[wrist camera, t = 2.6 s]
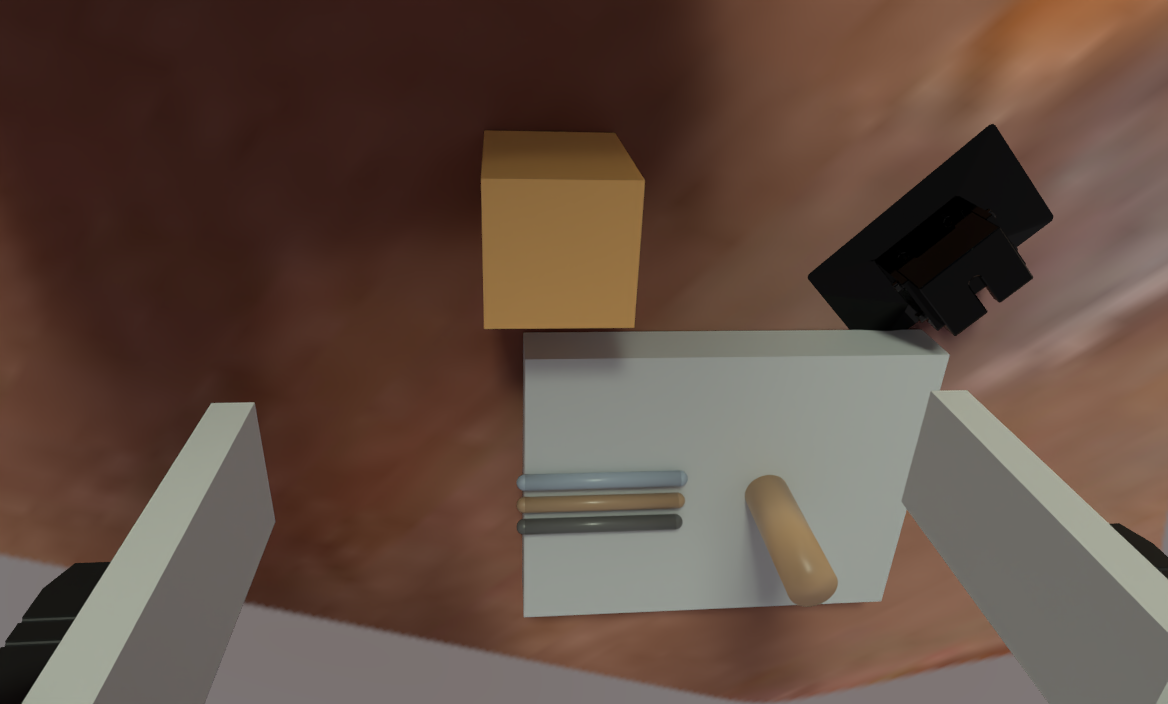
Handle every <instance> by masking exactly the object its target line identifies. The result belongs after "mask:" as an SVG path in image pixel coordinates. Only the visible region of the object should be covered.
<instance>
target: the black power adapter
mask: <svg viewBox="0 0 1168 704" xmlns="http://www.w3.org/2000/svg"><path fill="white" fill-rule="evenodd" d="M1052 219H1053V214H1052V213H1051V211H1050V210H1049V208H1048V207H1047V205H1046V204H1045V202H1044V200H1043V199H1042V197H1041V196H1040V194H1039V193H1038V191H1037V190H1036V188H1035V186H1034V185H1033V183H1032V182H1031V180H1030V179H1029V177H1028V176H1027V174H1026V172H1025V171H1024V169H1023V168H1022V166H1021V165H1020V163H1019V162H1018V160H1017V158H1016V157H1015V155H1014V154H1013V152H1012V151H1011V149H1010V148H1009V146H1008V144H1007V143H1006V141H1005V140H1004V138H1003V137H1002V135H1001V134H1000V132H999V130H998V129H997V127H996V126H995V125H994V124H991V125H989V126H987V127H986V128H985V129H984V130H983V131H981V132H980V133H979V134H978V135H977V136H975V137H974V138H973V139H972V140H971V141H969V142H968V143H967V144H966V145H965V146H963V147H962V148H961V149H960V150H958V151H957V152H956V153H955V154H954V155H952V156H951V157H950V158H949V159H948V160H946V161H945V162H944V163H943V164H942V165H940V166H939V167H938V168H937V169H936V170H934V171H933V172H932V173H931V174H929V175H928V176H927V177H926V178H925V179H923V180H922V181H921V182H920V183H919V184H917V185H916V186H915V187H914V188H913V189H911V190H910V191H909V192H908V193H907V194H905V195H904V196H903V197H902V198H900V199H899V200H898V201H897V202H896V203H894V204H893V205H892V206H891V207H890V208H888V209H887V210H886V211H885V212H884V213H882V214H881V215H880V216H879V217H878V218H876V219H875V220H874V221H873V222H871V223H870V224H869V225H868V226H867V227H865V228H864V229H863V230H862V231H861V232H859V233H858V234H857V235H856V236H855V237H853V238H852V239H851V240H850V241H848V242H847V243H846V244H845V245H844V246H842V247H841V248H840V249H839V250H838V251H836V252H835V253H834V254H833V255H832V256H830V257H829V258H828V259H827V260H826V261H824V262H823V263H822V264H821V265H819V266H818V267H817V268H816V269H815V270H813V271H812V272H811V273H810V274H809V275H808V279H809V281H810V282H811V283H812V284H813V285H814V287H815V288H816V289H817V290H818V292H819V293H820V294H821V295H822V296H823V298H824V299H825V300H826V301H827V303H828V304H829V305H830V306H831V307H832V309H833V310H834V311H835V312H836V314H837V315H838V316H839V317H840V318H841V320H842V321H843V322H844V323H845V325H846V326H847V327H848V328H849V329H850V330H874V331H895V330H907V329H908V328H910V327H911V326H912V325H914V324H915V323H916V322H918V321H920V322H921V323H923V322H924V321H925V320H926V321H927V322H928V323H929V324H931V325H932V326H933V327H934V328H935V329H936V330H937V331H938V330H939V329H941V328H942V327H945V328H946V329H947V330H948V331H949V332H950V333H952V334H953V335H954V336H957V335H958V334H959V333H961V332H962V331H963V330H965V329H966V328H967V327H969V326H970V325H971V324H973V323H974V322H975V321H977V320H978V319H979V318H981V317H982V316H983V315H985V314H986V313H987V310H986V309H985V307H984V306H983V304H982V303H981V302H980V300H979V299H978V298H977V296H976V295H975V294H976V293H978V292H979V291H980V290H982V289H983V288H984V287H986V288H987V290H988V291H989V292H990V294H991V295H992V297H993V298H994V299H995V300H997V301H998V302H1002V301H1004V300H1005V299H1006V298H1008V297H1009V296H1010V295H1012V294H1013V293H1014V292H1016V291H1017V290H1018V289H1020V288H1021V287H1022V286H1024V285H1025V284H1026V283H1028V282H1029V281H1030V280H1032V279H1033V276H1032V274H1031V273H1030V271H1029V270H1028V268H1027V267H1026V263H1025V262H1024V260H1023V259H1022V257H1021V256H1020V254H1019V253H1018V248H1017V247H1018V246H1019V245H1020V244H1022V243H1023V242H1024V241H1026V240H1027V239H1028V238H1030V237H1031V236H1032V235H1034V234H1035V233H1036V232H1037V231H1039V230H1040V229H1041V228H1043V227H1044V226H1045V225H1047V224H1048V223H1049V222H1051V221H1052Z"/></svg>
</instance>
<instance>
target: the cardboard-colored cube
mask: <svg viewBox="0 0 1168 704" xmlns="http://www.w3.org/2000/svg"><path fill="white" fill-rule="evenodd" d="M644 189H645V180H644V178H643V176H642V175H641V173H640V172H639V170H638V169H637V167H636V165H635V164H634V162H633V161H632V159H631V157H630V156H629V154H628V153H627V151H626V149H625V148H624V146H623V145H622V143H621V141H620V140H619V138H618V137H617V135H616V134H615V133H598V132H544V131H491V130H484V142H483V156H482V171H481V205H482V252H483V300H484V329H548V328H634V324H635V311H636V297H637V283H638V270H639V256H640V243H641V229H642V216H643V202H644Z"/></svg>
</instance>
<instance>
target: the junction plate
mask: <svg viewBox="0 0 1168 704" xmlns="http://www.w3.org/2000/svg"><path fill="white" fill-rule="evenodd" d="M948 359H949V354H948V353H947V352H946V351H945V350H944V349H943V348H942V347H941V346H939V345H938V344H937V343H936V342H935V341H934V340H933V339H932V338H931V337H930V336H928V335H927V334H926V333H925V332H924V331H923V330H922V329H915V330H895V331H874V330H786V331H656V332H527V333H523V475H521V476H519V477H518V479H517V486H518V488H519V489H520V490H522V491H523V497H522V498H520V499H519V500H518V501H517V509H518V510H519V511H520V512H521V513H523V519H521V520H520V521H519V522H518V523H517V530H518V532H519V533H520V534H523V536H522V584H523V610H524V617H541V616H563V615H585V614H607V613H630V612H652V611H674V610H696V609H719V608H741V607H763V606H785V605H799V606H805V607H809V606H815V605H819V604H830V603H852V602H874V601H881V600H882V596H883V593H884V589H885V585H886V582H887V578H888V575H889V571H890V567H891V564H892V560H893V557H894V553H895V549H896V546H897V542H898V539H899V535H900V531H901V528H902V524H903V521H904V517H905V513H906V510H907V509H906V507H905V506H904V505H903V503H902V502H901V500H902V497H903V493H904V489H905V485H906V482H907V478H908V474H909V470H910V467H911V463H912V459H913V456H914V452H915V448H916V444H917V441H918V437H919V433H920V429H921V426H922V422H923V418H924V415H925V411H926V407H927V403H928V400H929V396H930V392H931V391H940V388H941V384H942V380H943V377H944V373H945V370H946V366H947V362H948Z"/></svg>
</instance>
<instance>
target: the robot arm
mask: <svg viewBox="0 0 1168 704" xmlns="http://www.w3.org/2000/svg"><path fill="white" fill-rule="evenodd" d="M901 502H902V503H903V505H904V506H905V507H906V509H907V510H908V511H909V513H910V514H911V516H912V517H913V518H914V520H915V521H916V522H917V524H918V525H919V526H920V528H921V529H922V531H923V532H924V533H925V535H926V536H927V537H928V539H929V540H930V542H931V543H932V544H933V546H934V547H935V548H936V550H937V551H938V552H939V554H940V555H941V557H942V558H943V559H944V561H945V562H946V563H947V565H948V566H949V568H950V569H951V570H952V572H953V573H954V574H955V576H956V577H957V579H958V580H959V581H960V583H961V584H962V585H963V587H964V588H965V589H966V591H967V592H968V594H969V595H970V596H971V598H972V599H973V600H974V602H975V603H976V605H977V606H978V607H979V609H980V610H981V611H982V613H983V614H984V615H985V617H986V618H987V620H988V621H989V622H990V624H991V625H992V626H993V628H994V629H995V631H996V632H997V633H998V635H999V636H1000V637H1001V639H1002V640H1003V641H1004V643H1005V644H1006V646H1007V647H1008V648H1009V650H1010V651H1011V652H1012V654H1013V655H1014V657H1015V658H1016V659H1017V661H1018V662H1019V663H1020V665H1021V666H1022V667H1023V669H1024V670H1025V672H1026V673H1027V674H1028V676H1029V677H1030V678H1031V680H1032V681H1033V682H1034V684H1035V685H1036V687H1037V688H1038V689H1039V691H1040V692H1041V693H1042V695H1043V696H1044V698H1045V699H1046V700H1047V702H1048V703H1049V704H1168V557H1167V556H1166V555H1165V554H1164V553H1163V552H1162V551H1161V550H1160V549H1158V548H1157V547H1156V546H1155V545H1154V544H1153V543H1151V542H1150V541H1148V540H1146V539H1145V538H1143V537H1141V536H1140V535H1138V534H1136V533H1135V532H1133V531H1131V530H1129V529H1128V528H1126V527H1124V526H1123V525H1121V524H1119V523H1118V524H1109V523H1107V522H1106V521H1105V520H1104V519H1103V518H1102V517H1101V516H1100V515H1099V514H1098V513H1097V512H1096V511H1095V510H1094V509H1093V508H1092V507H1090V506H1089V505H1088V504H1087V503H1086V502H1085V501H1084V500H1083V499H1082V498H1081V497H1080V496H1079V495H1078V494H1077V493H1076V492H1074V491H1073V490H1072V489H1071V488H1070V487H1069V486H1068V485H1067V484H1066V483H1065V482H1064V481H1063V480H1062V479H1061V478H1060V477H1059V476H1057V475H1056V474H1055V473H1054V472H1053V471H1052V470H1051V469H1050V468H1049V467H1048V466H1047V465H1046V464H1045V463H1044V462H1043V461H1042V460H1040V459H1039V458H1038V457H1037V456H1036V455H1035V454H1034V453H1033V452H1032V451H1031V450H1030V449H1029V448H1028V447H1027V446H1026V445H1025V444H1023V443H1022V442H1021V441H1020V440H1019V439H1018V438H1017V437H1016V436H1015V435H1014V434H1013V433H1012V432H1011V431H1010V430H1009V429H1008V428H1006V427H1005V426H1004V425H1003V424H1002V423H1001V422H1000V421H999V420H998V419H997V418H996V417H995V416H994V415H993V414H992V413H990V412H989V411H988V410H987V409H986V408H985V407H984V406H983V405H982V404H981V403H980V402H979V401H978V400H977V399H976V398H975V397H973V396H972V395H971V394H970V393H969V392H968V391H967V390H951V391H931V392H930V396H929V400H928V403H927V407H926V411H925V415H924V418H923V422H922V426H921V429H920V433H919V437H918V441H917V444H916V448H915V452H914V456H913V459H912V463H911V467H910V470H909V474H908V478H907V482H906V485H905V489H904V493H903V497H902V500H901ZM274 524H275V516H274V511H273V505H272V499H271V494H270V488H269V482H268V476H267V471H266V465H265V459H264V453H263V448H262V442H261V436H260V431H259V425H258V419H257V413H256V408H255V402H246V403H211V404H210V406H209V407H208V409H207V411H206V412H205V414H204V415H203V417H202V419H201V420H200V422H199V423H198V425H197V426H196V428H195V430H194V431H193V433H192V434H191V436H190V438H189V439H188V441H187V442H186V444H185V445H184V447H183V449H182V450H181V452H180V453H179V455H178V457H177V458H176V460H175V461H174V463H173V464H172V466H171V468H170V469H169V471H168V472H167V474H166V476H165V477H164V479H163V480H162V482H161V484H160V485H159V487H158V488H157V490H156V491H155V493H154V495H153V496H152V498H151V499H150V501H149V503H148V504H147V506H146V507H145V509H144V510H143V512H142V514H141V515H140V517H139V518H138V520H137V522H136V523H135V525H134V526H133V528H132V529H131V531H130V533H129V534H128V536H127V537H126V539H125V541H124V542H123V544H122V545H121V547H120V548H119V550H118V552H117V553H116V555H115V556H114V558H113V560H112V561H111V562H96V563H75V564H74V565H72V566H71V567H70V568H68V569H67V570H66V571H65V572H63V573H62V574H61V575H60V576H58V577H57V578H56V579H54V580H53V581H52V582H51V583H50V584H48V585H47V586H46V587H44V588H43V589H42V591H41V592H40V593H39V595H38V596H37V598H36V599H35V600H34V602H33V603H32V604H31V606H30V607H29V609H28V610H27V612H26V613H25V614H24V616H23V617H22V619H23V620H22V623H18V624H17V626H16V627H15V628H14V630H13V631H12V633H11V634H10V635H9V637H8V638H7V640H6V641H5V642H6V644H5V647H1V648H0V704H204V703H205V701H206V698H207V696H208V693H209V691H210V688H211V685H212V683H213V681H214V678H215V675H216V673H217V670H218V668H219V665H220V663H221V660H222V657H223V655H224V652H225V650H226V647H227V645H228V642H229V639H230V637H231V634H232V632H233V629H234V627H235V624H236V621H237V619H238V616H239V614H240V611H241V609H242V606H243V603H244V601H245V598H246V596H247V593H248V591H249V588H250V585H251V583H252V580H253V578H254V575H255V573H256V570H257V567H258V565H259V562H260V560H261V557H262V555H263V552H264V549H265V547H266V544H267V542H268V539H269V537H270V534H271V531H272V529H273V526H274Z"/></svg>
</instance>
